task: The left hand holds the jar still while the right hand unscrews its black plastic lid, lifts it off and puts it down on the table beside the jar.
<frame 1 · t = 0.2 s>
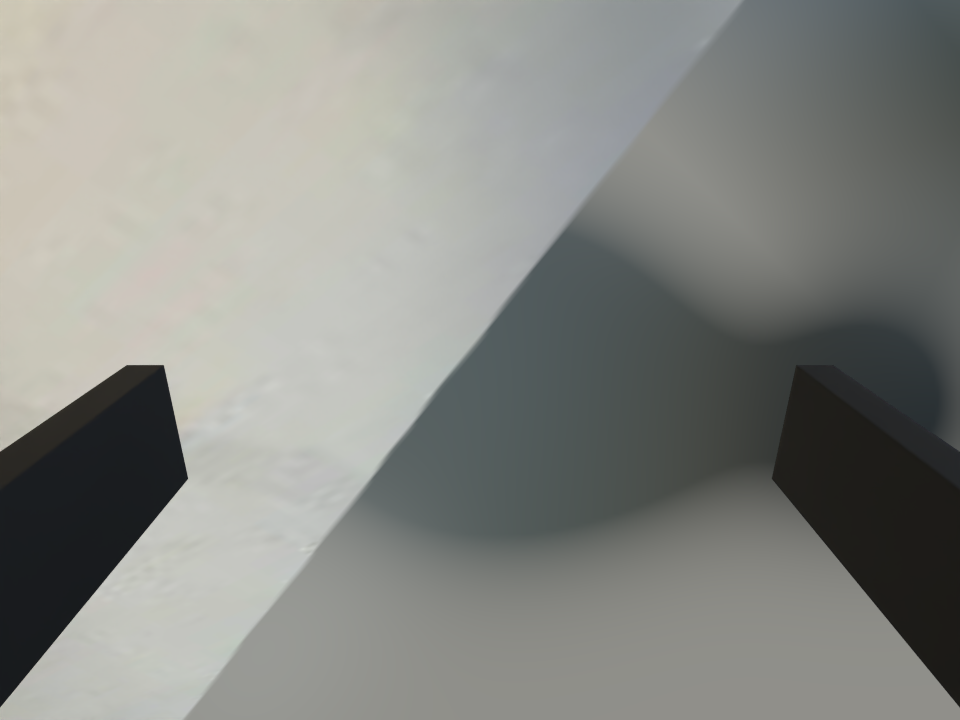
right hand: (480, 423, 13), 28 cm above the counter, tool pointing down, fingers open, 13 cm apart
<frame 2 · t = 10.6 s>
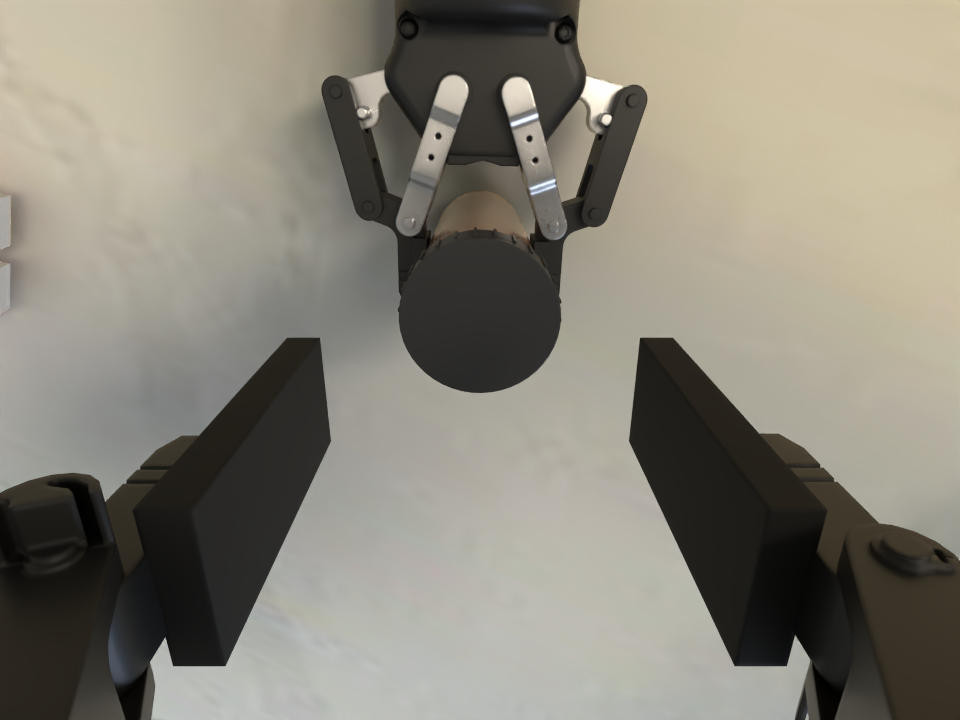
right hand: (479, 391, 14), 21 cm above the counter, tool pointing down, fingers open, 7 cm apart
left hand: (479, 309, 29), fingers closed on jar, 5 cm apart
jar: (480, 234, 34), on the counter, touching left hand
lid: (479, 316, 20), point 15 cm above the counter, screwed on, not yet turned
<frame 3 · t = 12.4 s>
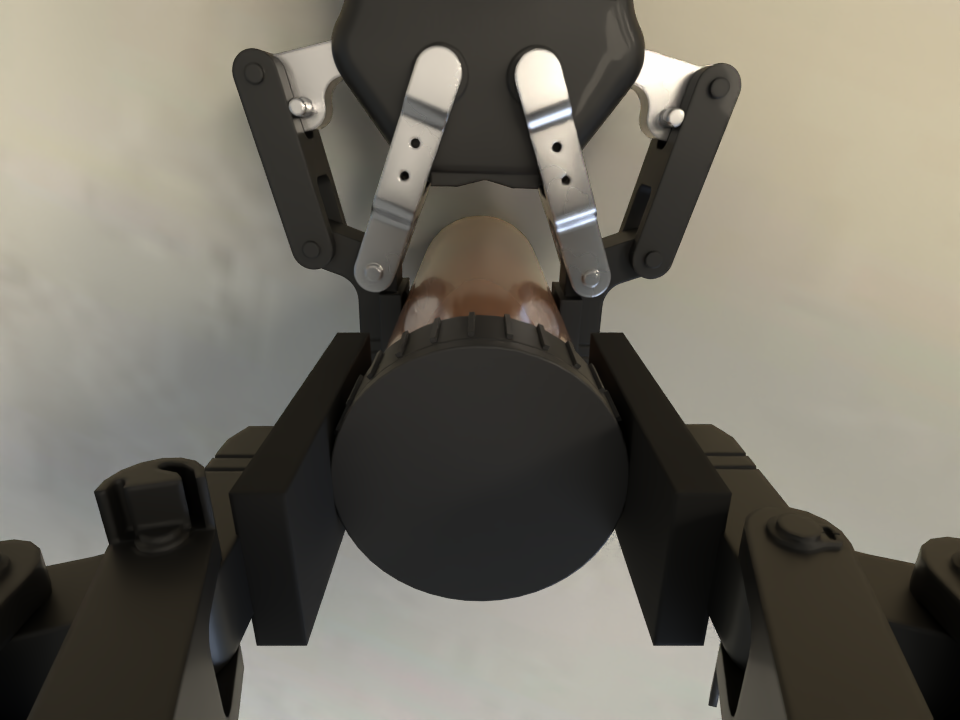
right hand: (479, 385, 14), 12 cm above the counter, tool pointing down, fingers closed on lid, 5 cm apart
left hand: (478, 390, 20), fingers closed on jar, 5 cm apart
jar: (480, 273, 25), on the counter, touching left hand
lid: (479, 474, 11), point 15 cm above the counter, screwed on, not yet turned, touching right hand
when the right hand's fingers open (0 cm above the counter, at t = 21.5 s): lid drops 3 cm, point 1 cm above the counter.
when the left hand's fingers open (6 cm above the counter, at t = 22.2 s): jar stays where it is, on the counter.
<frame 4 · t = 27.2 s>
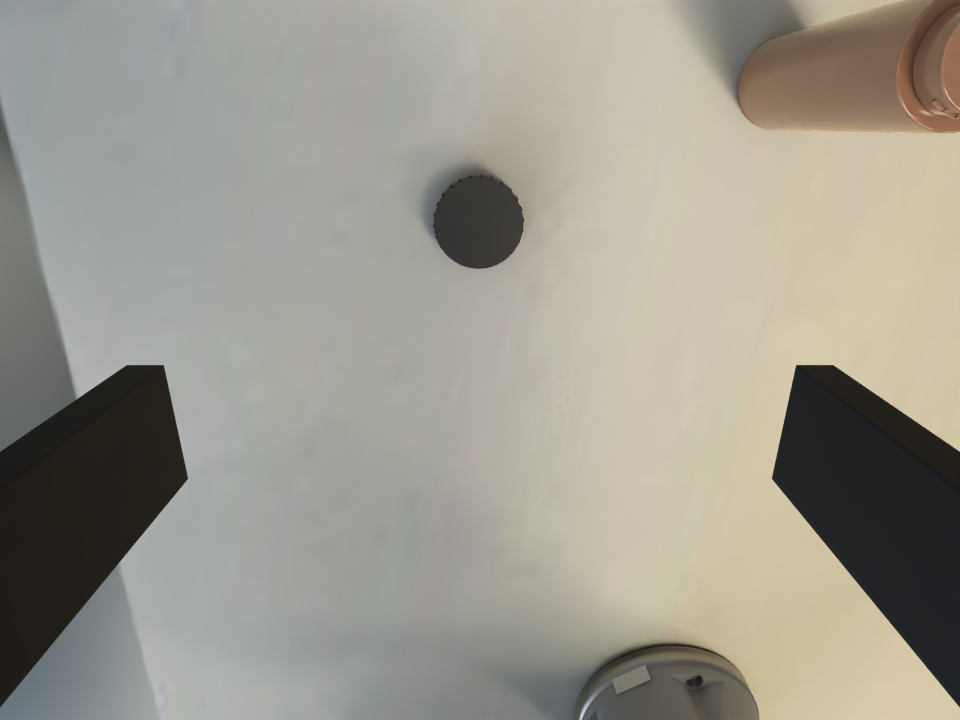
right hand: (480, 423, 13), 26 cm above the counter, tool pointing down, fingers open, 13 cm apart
jar: (780, 83, 34), on the counter
lid: (478, 223, 35), point 1 cm above the counter, off its thread
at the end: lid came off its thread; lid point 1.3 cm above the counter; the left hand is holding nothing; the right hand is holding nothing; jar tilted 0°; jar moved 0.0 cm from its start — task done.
